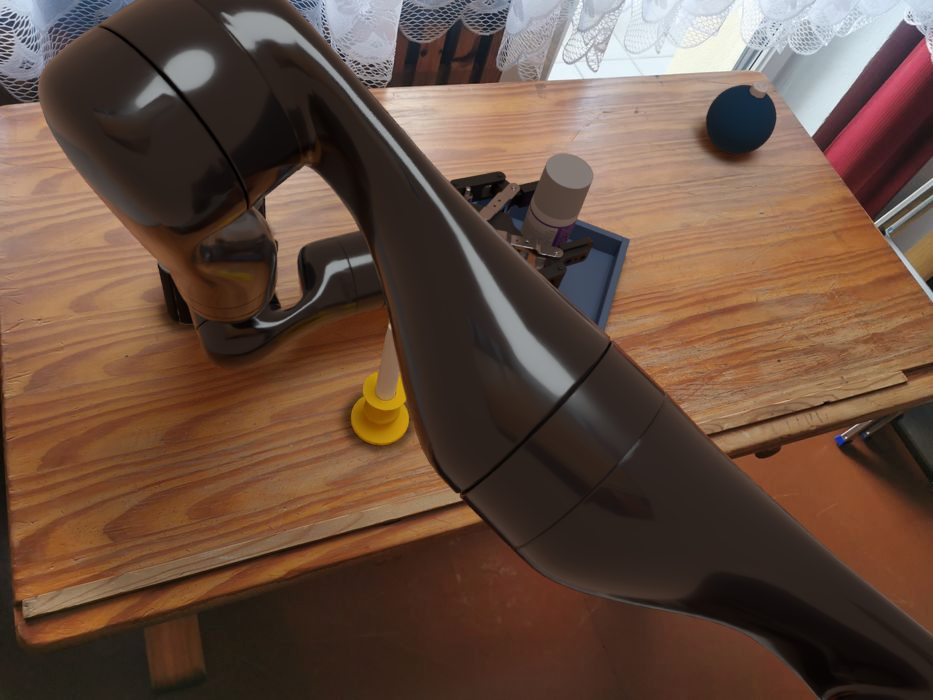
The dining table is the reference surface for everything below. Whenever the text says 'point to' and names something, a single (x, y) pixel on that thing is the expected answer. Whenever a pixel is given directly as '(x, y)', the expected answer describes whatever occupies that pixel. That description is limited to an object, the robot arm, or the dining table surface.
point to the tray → (588, 267)
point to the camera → (172, 296)
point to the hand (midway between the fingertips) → (569, 217)
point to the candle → (382, 402)
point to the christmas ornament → (741, 118)
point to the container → (557, 200)
